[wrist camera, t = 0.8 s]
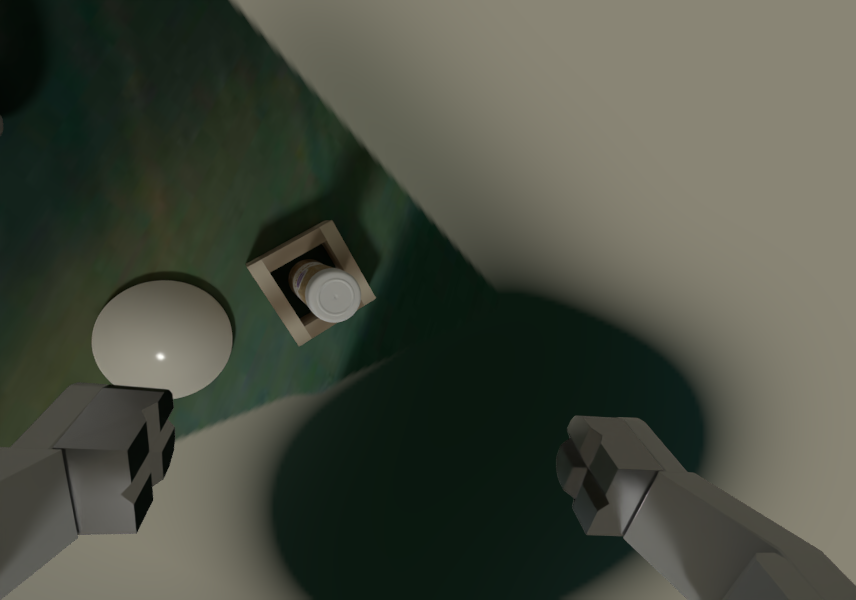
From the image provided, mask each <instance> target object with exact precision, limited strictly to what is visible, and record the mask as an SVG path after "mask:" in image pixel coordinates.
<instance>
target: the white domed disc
mask: <svg viewBox="0 0 856 600" xmlns="http://www.w3.org/2000/svg"><path fill="white" fill-rule="evenodd" d="M231 349H232V328H231V324H230V321H229V318H228V316H227V314H226V312H225V310H224V309H223V307H222V306H221V305H220V304H219V302H218V301H217V300H216V299H215V298H214V297H213V296H211V295H210V294H209V293H207V292H206V291H204V290H202V289H200V288H199V287H196V286H194V285H191V284H189V283H185V282H181V281H175V280H154V281H149V282H144V283H141V284H138V285H135V286H133V287H130V288H128V289H126V290H125V291H123V292H121V293H120V294H118V295H117V296H116V297H115V298H113V299H112V300H111V301H110V302H109V303H108V304H107V305H106V306H105V307H104V309H103V310H102V311H101V313H100V314H99V316H98V318H97V320H96V322H95V325H94V329H93V334H92V350H93V355H94V358H95V361H96V363H97V365H98V367H99V369H100V370H101V372H102V373H103V374H104V376H105V377H106V378H107V379H108V380H109V381H110V382H111V383H113V384H114V385H122V386H134V387H146V388H158V389H169V390H170V391H171V392H172V394H173V399H176V398H180V397H184V396H187V395H190V394H192V393H195V392H197V391H199V390H200V389H202V388H204V387H205V386H207V385H208V384H210V383H211V382H212V381H213V380H214V379H215V378H216V377H217V376H218V375H219V374H220V373H221V371H222V370H223V368H224V367H225V365H226V363H227V361H228V359H229V356H230V353H231Z"/></svg>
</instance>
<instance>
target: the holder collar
mask: <svg viewBox="0 0 856 600" xmlns="http://www.w3.org/2000/svg"><path fill="white" fill-rule="evenodd" d="M320 244H322V245H323V246H324V248H325V250H326V251H327V253H328V255H329V257H330V258H331V260H332V262H333V263H334V265H335V267H336V268H337V269H340V270H343V271H345V272H347V273H349V274H350V275H352V276H353V277H354V278H355V279H356V281H357V282H358V284H359V286H360V289H361V302H360V305H359V307H358V309H360V308H361V307H363V306H364V305H366V304H368V303H369V302H371V301H372V300H374V299H376V297H375V296H374V294H373V292H372V290H371V288H370V287H369V285H368V283H367V281H366V280H365V278H364V276H363V274H362V272H361V271H360V269H359V267H358V265H357V264H356V262H355V260H354V258H353V256H352V255H351V253H350V251H349V249H348V248H347V246H346V244H345V242H344V240H343V239H342V237H341V235H340V233H339V231H338V230H337V228H336V226H335V224H334V223H333V221H332V220H328V221H323V222H321V223H319V224H317V225H316V226H314V227H312V228H310V229H308V230H306V231H305V232H303V233H301V234H299V235H297V236H296V237H294V238H292V239H290V240H288V241H286V242H285V243H283V244H281V245H279V246H277V247H275V248H274V249H272V250H270V251H268V252H266V253H265V254H263V255H261V256H259V257H257V258H255V259H254V260H252V261H250V262H248V263H246V266H247V268H248V269H249V271H250V273H251V274H252V276H253V277H254V279H255V280H256V282H257V283H258V285H259V286H260V288H261V289H262V291H263V292H264V294H265V295H266V297H267V298H268V300H269V301H270V303H271V304H272V306H273V307H274V309H275V310H276V312H277V314H278V315H279V317H280V318H281V320H282V321H283V323H284V324H285V326H286V327H287V329H288V330H289V332H290V333H291V335H292V336H293V338H294V339H295V341H296V342H297V344H298V345H299V346H301V345H302V344H304V343H306V342H307V341H309V340H310V339H312V338H313V337H315V336H317V335H318V334H320V333H321V332H323V331H325V330H326V329H328V328H329V327H331V326H333V325H334V324H336V323H337V322H336V323H331V322H326V321H323V320H321V319H320V318H318V317H317V316H316V315H314V314H313V313H312V312H310V313H308V314H307V315H305V316H303V317H302V318H300V319H299V318H298V316H297V315H296V313H295V311H294V310H293V308H292V307H291V305H290V304H289V302H288V300H287V299H286V297H285V296H284V294H283V293H282V291H281V290H280V288H279V286H278V285H277V283H276V282H275V280H274V279H273V277H272V276H271V274H270V272H272V271H274V270H275V269H277V268H279V267H281V266H283V265H284V264H286V263H288V262H290V261H291V260H293V259H295V258H297V257H298V256H300V255H302V254H304V253H306V252H307V251H309V250H311V249H313V248H314V247H316V246H318V245H320ZM358 309H357V310H358Z"/></svg>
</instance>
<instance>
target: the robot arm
mask: <svg viewBox="0 0 856 600" xmlns="http://www.w3.org/2000/svg"><path fill="white" fill-rule="evenodd" d="M173 408H174V405H173V394H172V392H171V391H170V390H169V389H158V388H146V387H134V386H122V385H106V384H93V383H80V382H78V383H75V384H72V385H70V386H68V387H67V388H66V389H65V390H64V391H63V393H62V394H61V395H60V396H59V397H58V398H57V399H56V400H55V401H54V402H53V403H52V404H51V405H50V406H49V407H48V408H47V409H46V410H45V411H44V412H43V413H42V414H41V416H40V417H39V418H38V419H37V420H36V421H35V422H34V423H33V424H32V425H31V426H30V427H29V428H28V429H27V430H26V431H25V432H24V433H23V434H22V435H21V436H20V438H19V439H18V440H17V441H16V442H15V443H14V444H13V445H12V446H11V447H10V448H8V447H0V600H1V599H2V598H3V597H5V596H6V595H7V594H8V593H10V592H11V591H12V590H13V589H15V588H16V587H17V586H18V585H20V584H21V583H22V582H23V581H25V580H26V579H27V578H28V577H30V576H31V575H32V574H33V573H34V572H36V571H37V570H38V569H40V568H41V567H42V566H43V565H45V564H46V563H47V562H48V561H50V560H51V559H52V558H53V557H55V556H56V555H57V554H58V553H59V552H61V551H62V550H63V549H65V548H66V547H67V546H68V545H69V544H71V543H72V542H73V541H75V540H76V539H77V538H78V535H90V534H131V533H132V534H133V533H137V532H138V529H139V527H140V525H141V523H142V522H143V520H144V517H145V515H146V513H147V511H148V509H149V507H150V505H151V503H152V501H153V490H152V487H153V486H154V485H155V484H157V483H158V482H160V481H161V480H163V479H164V477H165V474H166V472H167V470H168V468H169V466H170V462H171V458H172V455H173V451H174V444H175V427H174V426H173V424H172V423H171V422H170V421H169V420H168V417H169V416H170V414H171V412H172V410H173ZM567 431H568V434H569V436H570V438H569V439H568V440H567V441H565V442H564V443H563V444H562V445H561V446H560V449H559V451H558V454H557V457H556V471H557V475H558V479H559V481H560V483H561V485H562V488H563V490H565V491H566V492H567V493H569V494H570V495H571V496H572V497H573V498H574V502H573V506H572V507H573V510H574V512H575V514H576V516H577V517H578V519H579V521H580V523H581V525H582V527H583V529H584V531H585V533H586V534H587V535H606V536H607V535H608V536H624V539H625V540H626V541H627V542H628V543H629V544H630V545H631V546H632V547H633V548H634V549H635V550H636V551H637V552H639V554H640V555H642V557H644V558H645V559H646V560H647V561H648V562H649V563H650V564H651V565H652V566H653V567H654V568H655V569H656V570H657V571H658V572H659V573H660V574H661V575H662V576H663V577H665V579H667V580H668V581H669V582H670V583H671V584H672V585H673V586H674V587H675V588H676V589H677V590H678V591H679V592H680V593H681V594H682V595H683V596H684V597H685V598H686V599H687V600H856V586H855V585H854V584H853V583H852V582H851V581H850V580H849V579H848V578H847V577H846V576H845V575H844V574H843V573H842V572H841V571H840V570H839V569H838V567H837V566H836V565H835V564H833V562H832V561H831V560H830V559H829V558H828V557H827V556H826V555H824V553H823V552H822V551H820V550H819V549H817V548H816V547H814V546H812V545H810V544H809V543H807V542H806V541H804V540H803V539H801V538H799V537H798V536H796V535H794V534H793V533H791V532H790V531H788V530H786V529H785V528H783V527H781V526H780V525H778V524H776V523H775V522H773V521H772V520H770V519H768V518H767V517H765V516H763V515H762V514H760V513H758V512H757V511H755V510H754V509H752V508H750V507H749V506H747V505H746V504H744V503H742V502H741V501H739V500H737V499H735V498H734V497H733V496H731V495H729V494H728V493H726V492H724V491H723V490H721V489H719V488H718V487H716V486H715V485H713V484H711V483H710V482H708V481H706V480H705V479H703V478H702V477H700V476H698V475H697V474H695V473H689V472H687V471H686V470H685V469H684V468H683V466H682V465H681V464H680V463H679V462H678V461H677V459H676V458H675V457H674V456H673V455H672V454H671V452H670V451H669V450H668V449H667V448H666V447H665V445H664V444H663V443H662V442H661V441H660V440H659V438H658V437H657V436H656V435H655V434H654V432H653V431H652V430H651V429H650V428H649V426H648V425H647V424H646V423H645V422H643V421H642V420H640V419H639V418H622V417H617V418H608V417H591V416H590V417H589V416H575V417H574V418H573V419H572V420H571V421H570V424H569V426H568V428H567Z"/></svg>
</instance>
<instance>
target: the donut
mask: <svg viewBox="0 0 856 600" xmlns="http://www.w3.org/2000/svg"><path fill="white" fill-rule="evenodd" d="M2 132H3V120H2V117H1V115H0V136H1V134H2Z"/></svg>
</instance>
